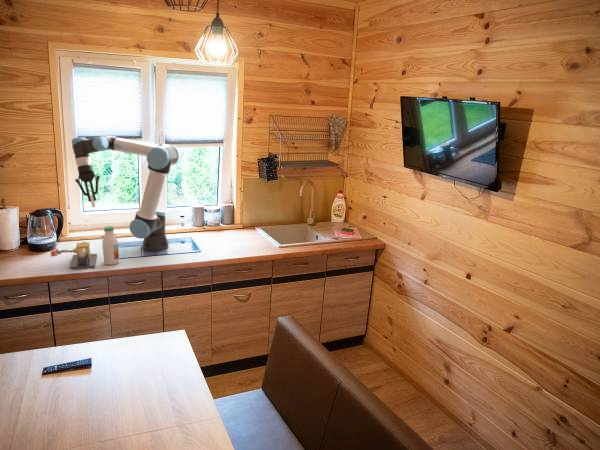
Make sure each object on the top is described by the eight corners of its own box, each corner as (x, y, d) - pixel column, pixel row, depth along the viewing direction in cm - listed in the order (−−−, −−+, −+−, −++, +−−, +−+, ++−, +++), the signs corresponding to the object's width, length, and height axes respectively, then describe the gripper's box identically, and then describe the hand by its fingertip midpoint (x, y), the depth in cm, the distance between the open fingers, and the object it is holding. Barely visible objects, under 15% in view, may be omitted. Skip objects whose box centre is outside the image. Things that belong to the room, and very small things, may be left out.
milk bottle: (110, 266, 246) (106, 230, 240) (101, 263, 250) (97, 227, 244) (122, 262, 252) (119, 226, 247) (113, 259, 256) (110, 224, 251)
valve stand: (97, 256, 259) (96, 238, 256) (95, 268, 242) (94, 249, 239) (73, 257, 255) (72, 239, 252) (69, 269, 238) (68, 250, 235)
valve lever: (73, 247, 246) (69, 250, 229) (73, 253, 246) (69, 256, 229) (55, 248, 243) (50, 250, 226) (56, 254, 244) (50, 257, 226)
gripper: (96, 164, 265) (105, 205, 266) (71, 168, 259) (81, 209, 261) (97, 162, 258) (106, 204, 260) (71, 166, 252) (81, 208, 254)
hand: (93, 206), depth 260 cm, fingers closed
